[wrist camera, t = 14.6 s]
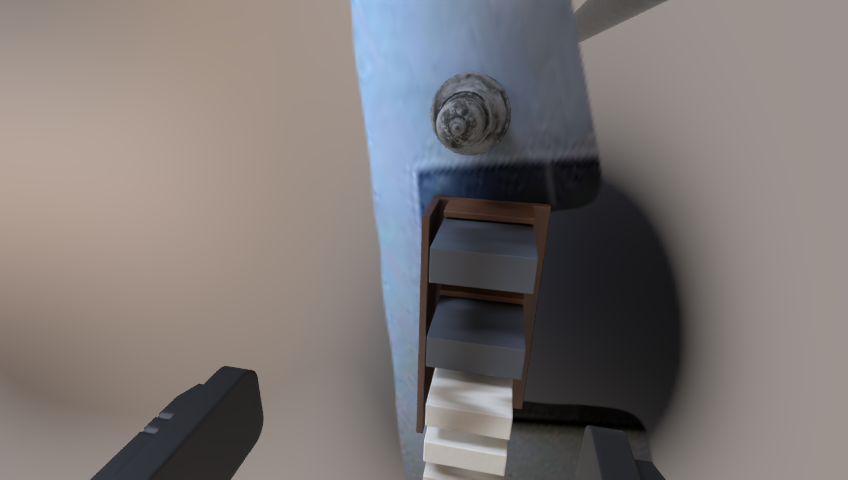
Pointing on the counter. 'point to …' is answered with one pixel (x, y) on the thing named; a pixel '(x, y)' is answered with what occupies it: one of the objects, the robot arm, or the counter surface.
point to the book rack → (476, 316)
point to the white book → (465, 450)
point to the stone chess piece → (470, 113)
